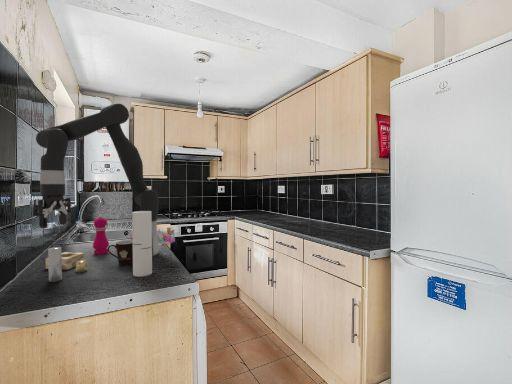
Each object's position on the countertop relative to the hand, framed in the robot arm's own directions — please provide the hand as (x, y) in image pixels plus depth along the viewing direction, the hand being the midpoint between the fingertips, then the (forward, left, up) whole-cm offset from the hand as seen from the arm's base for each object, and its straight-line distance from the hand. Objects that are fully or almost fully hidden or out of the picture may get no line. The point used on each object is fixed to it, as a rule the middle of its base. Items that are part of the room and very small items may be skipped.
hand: (53, 226), depth 102 cm
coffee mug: (-14, -22, -21) cm, 33 cm away
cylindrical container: (-29, -10, -21) cm, 37 cm away
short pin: (-2, -11, -20) cm, 23 cm away
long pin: (0, 0, -20) cm, 20 cm away
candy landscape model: (-8, -65, -21) cm, 68 cm away
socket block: (+10, -17, -20) cm, 28 cm away
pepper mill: (+8, -38, -21) cm, 44 cm away
